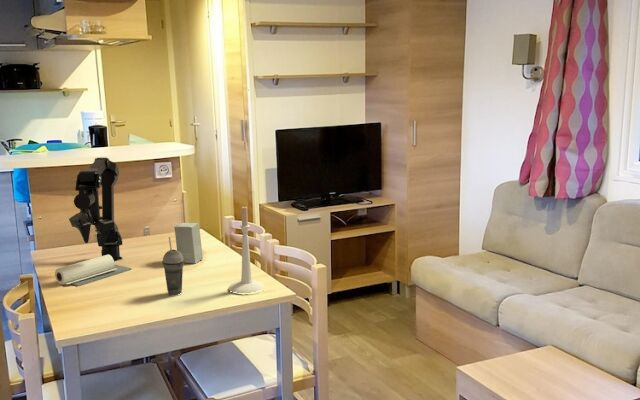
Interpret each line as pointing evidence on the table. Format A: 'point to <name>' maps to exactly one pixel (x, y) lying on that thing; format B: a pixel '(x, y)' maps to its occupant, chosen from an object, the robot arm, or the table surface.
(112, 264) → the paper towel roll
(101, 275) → the gray mat
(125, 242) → the table surface
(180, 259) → the beverage cup
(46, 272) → the table surface
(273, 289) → the table surface
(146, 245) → the table surface
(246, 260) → the candlestick
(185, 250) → the skincare box
